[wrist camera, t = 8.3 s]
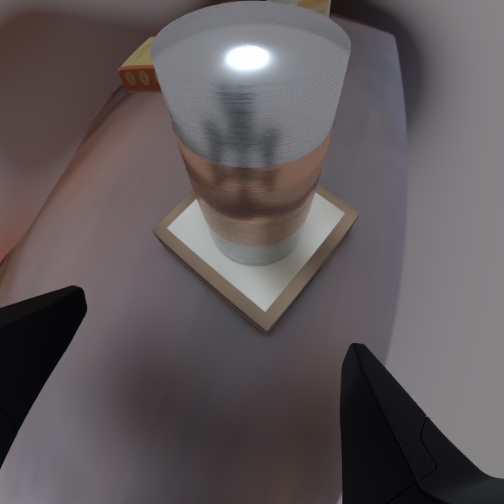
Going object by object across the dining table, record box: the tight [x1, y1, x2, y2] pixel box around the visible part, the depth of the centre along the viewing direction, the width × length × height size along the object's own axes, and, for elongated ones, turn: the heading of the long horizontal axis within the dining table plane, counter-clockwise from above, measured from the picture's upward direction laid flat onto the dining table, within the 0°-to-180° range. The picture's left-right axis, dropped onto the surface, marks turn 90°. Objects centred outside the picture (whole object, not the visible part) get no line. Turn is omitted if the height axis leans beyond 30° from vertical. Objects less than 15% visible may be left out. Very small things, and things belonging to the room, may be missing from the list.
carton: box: [118, 37, 162, 93], centre depth 28 cm, size 8×16×4 cm, turn 75°
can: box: [150, 1, 351, 266], centre depth 13 cm, size 6×6×13 cm
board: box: [152, 184, 360, 335], centre depth 21 cm, size 10×10×3 cm
